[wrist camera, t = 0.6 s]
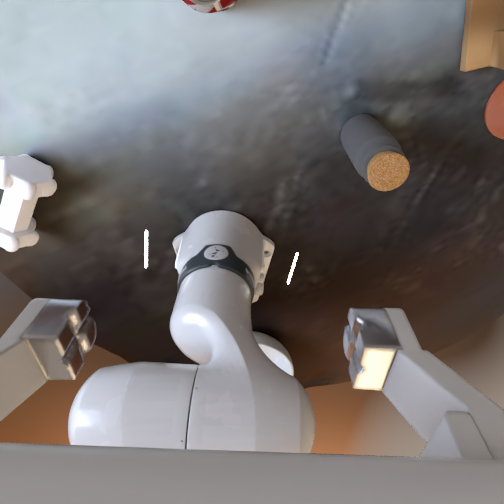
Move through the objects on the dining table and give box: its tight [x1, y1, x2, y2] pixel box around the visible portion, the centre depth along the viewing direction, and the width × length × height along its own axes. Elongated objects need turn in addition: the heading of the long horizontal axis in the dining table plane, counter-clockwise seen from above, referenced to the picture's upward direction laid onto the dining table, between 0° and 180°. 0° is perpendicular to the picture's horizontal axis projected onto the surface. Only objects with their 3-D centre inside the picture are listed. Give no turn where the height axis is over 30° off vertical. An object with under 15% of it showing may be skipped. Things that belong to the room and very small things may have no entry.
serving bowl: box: [252, 331, 294, 376], centre depth 79 cm, size 21×21×7 cm
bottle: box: [341, 114, 410, 191], centre depth 46 cm, size 6×6×15 cm
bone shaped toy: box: [0, 154, 57, 252], centre depth 56 cm, size 15×9×8 cm, turn 146°
